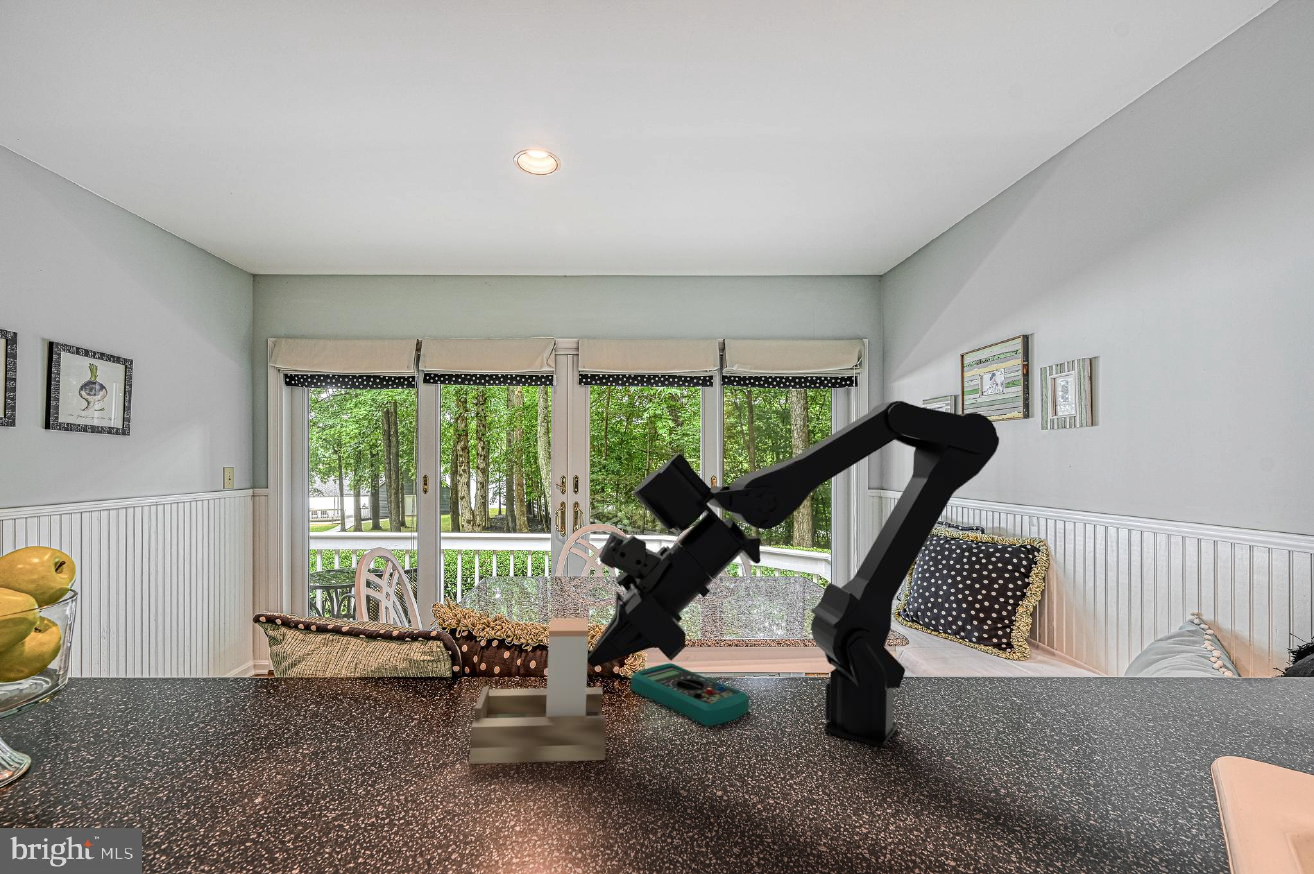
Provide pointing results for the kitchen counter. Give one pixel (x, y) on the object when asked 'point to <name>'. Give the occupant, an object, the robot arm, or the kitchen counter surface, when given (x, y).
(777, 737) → the kitchen counter surface
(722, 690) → the digital multimeter
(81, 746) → the kitchen counter surface
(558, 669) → the switch tab
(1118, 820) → the kitchen counter surface
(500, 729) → the open taupe tray
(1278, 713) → the kitchen counter surface
